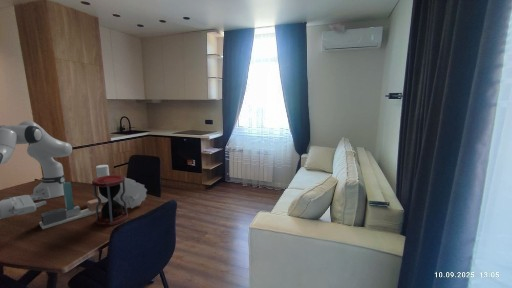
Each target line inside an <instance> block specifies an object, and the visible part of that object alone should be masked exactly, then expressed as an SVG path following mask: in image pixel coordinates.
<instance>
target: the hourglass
mask: <svg viewBox="0 0 512 288" xmlns="http://www.w3.org/2000/svg"><path fill="white" fill-rule="evenodd" d="M91 182H92V183H91V185H92V187H93V196H94V197H95V199H98V204H97V205H96V213H95V214H96V215H95V216H96V220H95V222H96V225H97V226H100V227H107V226H108V227H109V226H114V225H118V224H120V223H123V222H124V221H125V220H127V219H128V217H129V213H128V208H127V205H126V201H124V200H123V195H124V194H125V175H121V174H109V175H108V176H102V177H99V178H97V177H96V178H94V179H92V180H91ZM120 183H123V193H122V194H121V196H120V199H121V201H123V203H124V206H123V205H121V204H120V203H118V202H117V201H115V200H113V198H114V197H115V196H116V195H117V194H118V193H119V191H120ZM98 187H99V192H97V188H98ZM97 193H98V194H99V193H100V194H101V195H102V196H103V197H105V198H107V199H108V201H107V202H106V203H104V204H103V205H102V209H101V212H99V213H100V214H101V215H99V213H98V206H99V205H100V204H101V199H100V198H99V195H97ZM124 207H125V208H124ZM123 208H124V210H123Z"/></svg>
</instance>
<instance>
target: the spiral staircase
mask: <svg viewBox="0 0 512 288" xmlns="http://www.w3.org/2000/svg"><path fill="white" fill-rule="evenodd" d="M124 177H125V176H124ZM147 192H148V189H147V188H146V187H145V184H142V183H139V182H136V180H134V179H132V178H127V177H125V194H124V195H123V200H124V201H126V205H127V209H128V208H129V209H130V208H131V209H134V208H135V207H136V206H141V203H142V202H144V201H146V198H147ZM122 193H123V183H120V191H119V193H118V194H117V195H116V196H115V197H114V198H113V200H115V201H117V202H118V203H120V204H121V206H122V207H123V208H124V209H125V207H124V203H123V201H121V199H120V196H121V194H122Z"/></svg>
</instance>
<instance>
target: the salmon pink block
mask: <svg viewBox="0 0 512 288" xmlns="http://www.w3.org/2000/svg"><path fill="white" fill-rule="evenodd" d="M97 204H98V199H97V198H94V199H92V200H91V199H90V200H87V209H88V210H89V211H91V212H93V211H96V205H97ZM102 204H103V203H101V204H100V205H99V206H98V210H100V209H102V207H103V205H102Z"/></svg>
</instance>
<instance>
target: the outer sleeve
mask: <svg viewBox="0 0 512 288" xmlns="http://www.w3.org/2000/svg"><path fill="white" fill-rule="evenodd" d="M65 209H66V208H64V207H61V208H57V209H54V210H50V211H45V212H42V213H40V219H41V222H42V223H43V225H44V226H45V225H49V224H52V223H55V222H59V221H62V220H66V219H67V216H66V210H65Z"/></svg>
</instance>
